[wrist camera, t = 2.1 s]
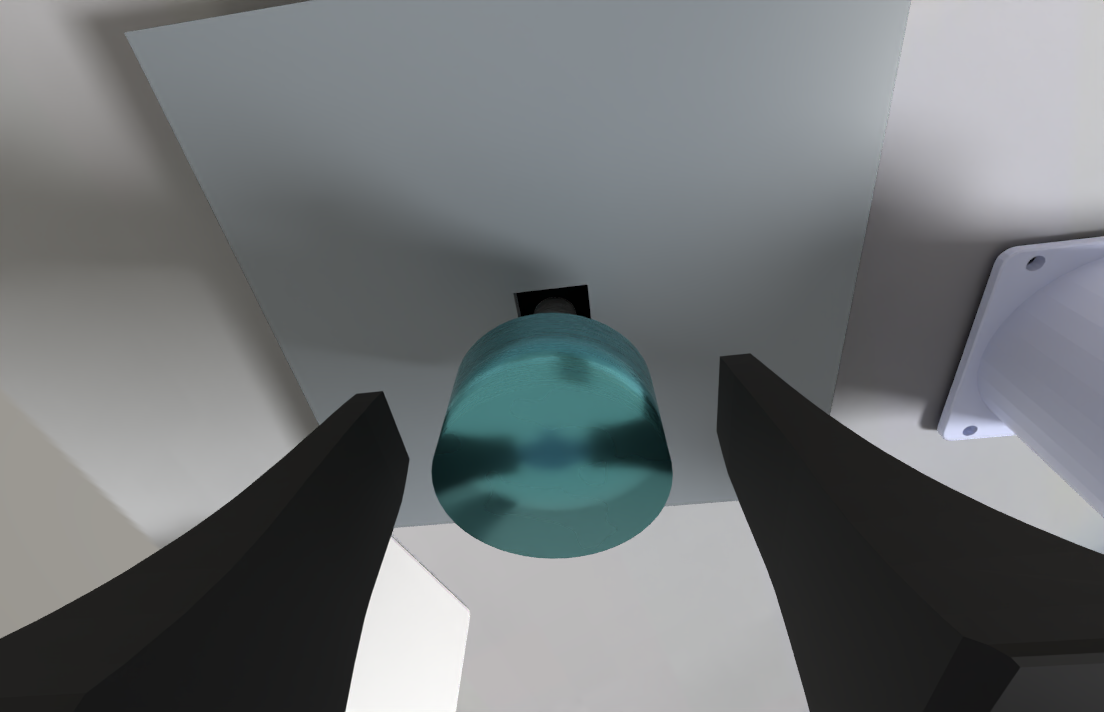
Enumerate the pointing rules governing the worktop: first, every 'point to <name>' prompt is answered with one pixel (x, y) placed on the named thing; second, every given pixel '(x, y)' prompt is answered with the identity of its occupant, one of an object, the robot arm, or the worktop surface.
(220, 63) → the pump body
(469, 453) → the plunger
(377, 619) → the container
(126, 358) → the worktop surface
